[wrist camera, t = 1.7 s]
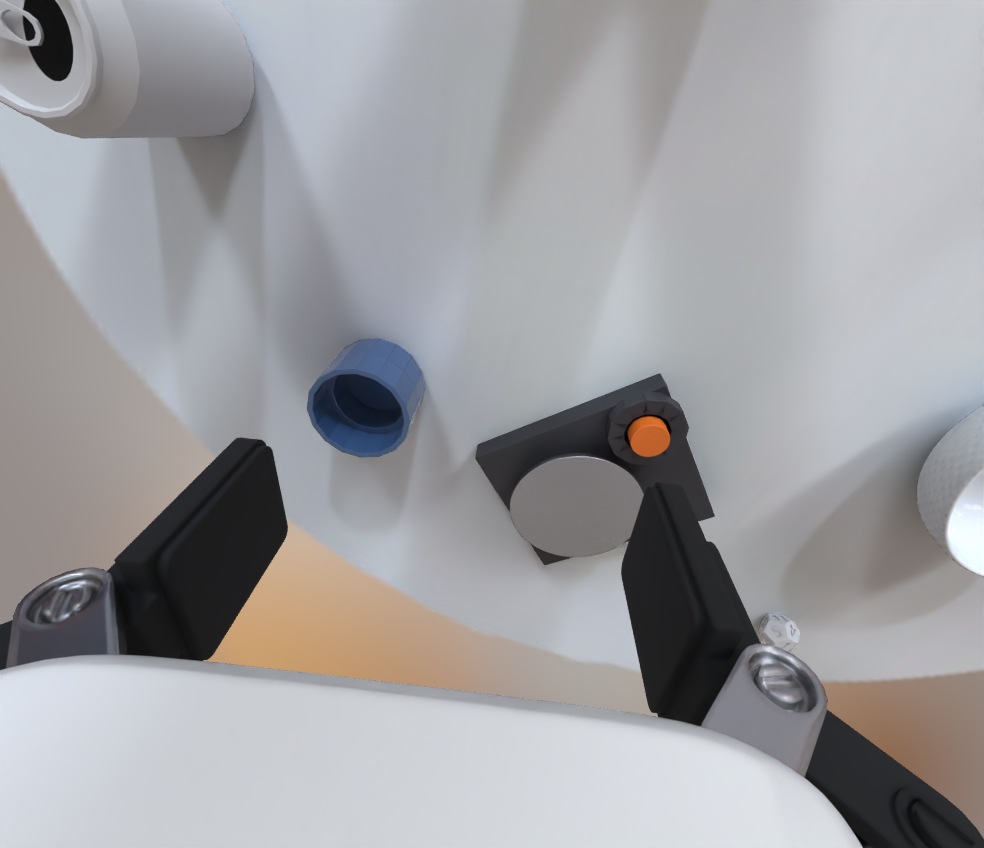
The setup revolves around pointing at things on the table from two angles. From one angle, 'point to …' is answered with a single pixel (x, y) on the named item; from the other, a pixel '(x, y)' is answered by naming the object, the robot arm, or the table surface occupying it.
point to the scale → (600, 445)
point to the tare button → (648, 436)
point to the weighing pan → (576, 504)
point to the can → (125, 66)
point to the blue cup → (367, 398)
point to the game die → (779, 631)
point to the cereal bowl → (956, 492)
